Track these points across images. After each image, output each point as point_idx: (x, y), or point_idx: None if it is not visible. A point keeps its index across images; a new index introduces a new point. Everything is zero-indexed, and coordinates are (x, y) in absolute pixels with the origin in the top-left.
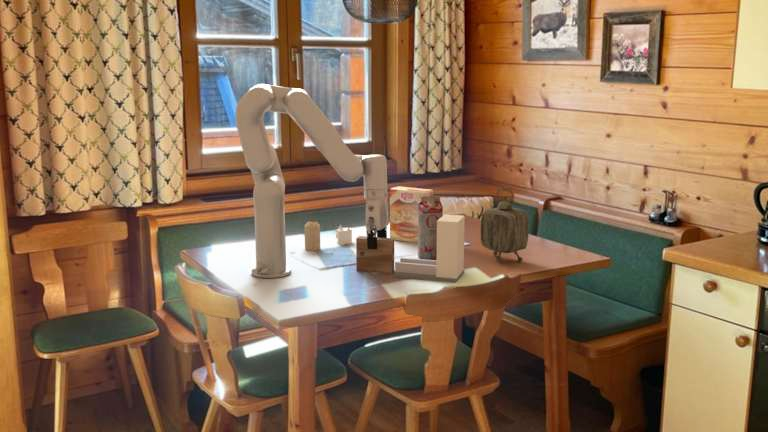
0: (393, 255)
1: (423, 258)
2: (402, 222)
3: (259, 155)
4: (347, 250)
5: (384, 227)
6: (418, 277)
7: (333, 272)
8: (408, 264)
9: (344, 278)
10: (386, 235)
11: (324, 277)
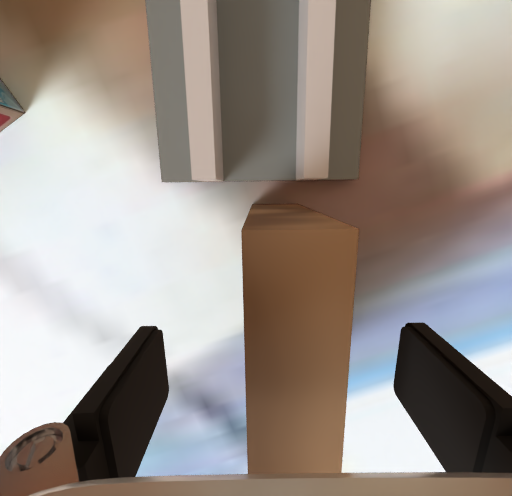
0: (269, 211)
1: (4, 104)
2: None
3: None
4: None
5: (324, 475)
6: (366, 19)
7: (346, 431)
8: (330, 79)
9: None
10: (121, 361)
11: (423, 437)
